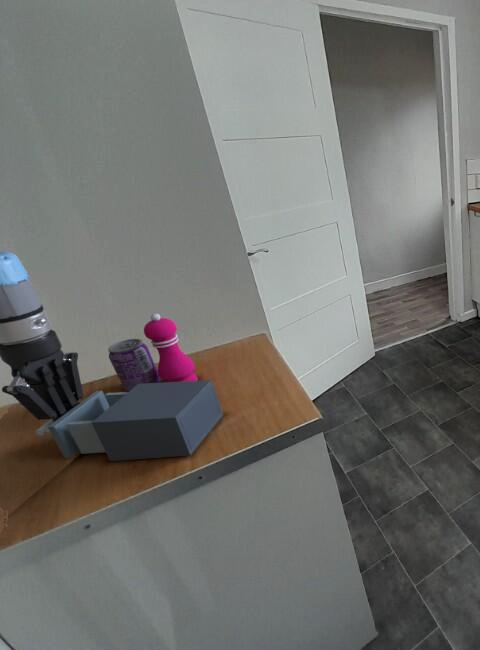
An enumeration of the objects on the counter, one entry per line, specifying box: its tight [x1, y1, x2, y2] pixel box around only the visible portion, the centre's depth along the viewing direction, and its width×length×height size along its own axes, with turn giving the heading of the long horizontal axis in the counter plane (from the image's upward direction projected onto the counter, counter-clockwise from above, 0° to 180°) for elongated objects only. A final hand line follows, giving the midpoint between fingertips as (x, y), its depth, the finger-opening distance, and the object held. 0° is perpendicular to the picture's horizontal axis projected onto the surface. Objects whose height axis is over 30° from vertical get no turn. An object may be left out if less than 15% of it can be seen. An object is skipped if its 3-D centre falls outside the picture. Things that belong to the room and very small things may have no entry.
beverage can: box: [108, 338, 162, 392], centre depth 100 cm, size 7×7×12 cm
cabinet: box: [91, 379, 224, 462], centre depth 85 cm, size 15×13×10 cm
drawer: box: [35, 390, 128, 459], centre depth 84 cm, size 18×11×8 cm, turn 97°
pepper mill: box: [143, 313, 198, 382], centre depth 100 cm, size 7×7×20 cm
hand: (77, 436), depth 84 cm, fingers closed
